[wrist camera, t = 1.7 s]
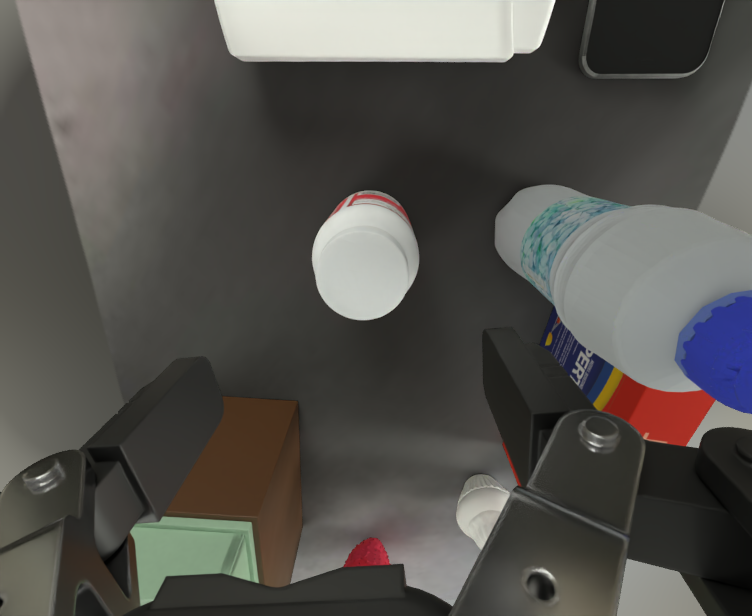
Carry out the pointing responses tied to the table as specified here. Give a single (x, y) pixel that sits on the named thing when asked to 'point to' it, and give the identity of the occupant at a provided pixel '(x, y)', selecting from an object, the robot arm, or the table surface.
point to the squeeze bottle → (382, 29)
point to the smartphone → (647, 38)
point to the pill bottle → (365, 256)
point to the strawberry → (368, 554)
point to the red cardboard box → (625, 392)
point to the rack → (232, 503)
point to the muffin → (480, 507)
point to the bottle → (640, 286)
